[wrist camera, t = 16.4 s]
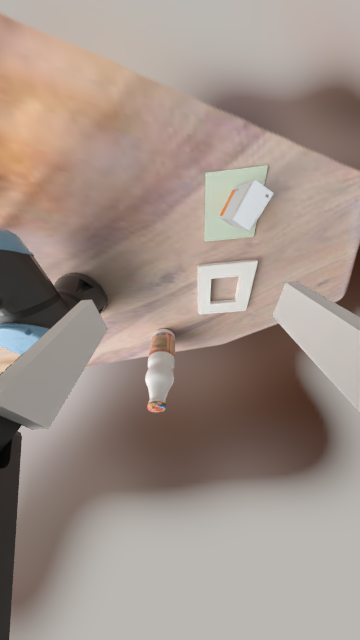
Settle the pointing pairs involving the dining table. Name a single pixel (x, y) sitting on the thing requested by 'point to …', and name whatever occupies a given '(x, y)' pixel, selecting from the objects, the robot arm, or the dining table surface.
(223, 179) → the pad
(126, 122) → the dining table surface
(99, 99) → the dining table surface
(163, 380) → the fruit juice
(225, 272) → the white frame
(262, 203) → the skincare box
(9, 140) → the dining table surface
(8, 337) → the robot arm
